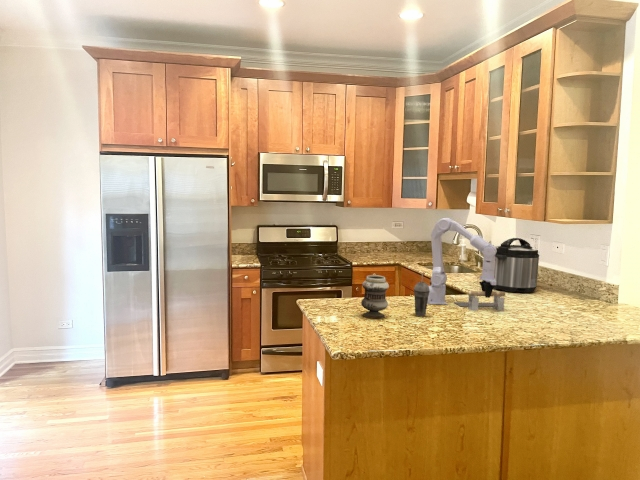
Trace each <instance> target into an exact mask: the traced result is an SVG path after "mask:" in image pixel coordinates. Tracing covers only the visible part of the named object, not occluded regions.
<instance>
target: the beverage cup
mask: <svg viewBox="0 0 640 480" xmlns="http://www.w3.org/2000/svg"><path fill="white" fill-rule="evenodd" d="M423 277H424V273H423V272H421V281H419V282H417V283H416V284H415V285H414V288H413V294H414V295H413V296H414V315H415V316H416V317H422V318H423V317H426V313H427V307H428V302H427V301H428V296H429V292H430V291H429V286H430V285H428V284H427V283H426V282H424V281H423V280H424V278H423Z"/></svg>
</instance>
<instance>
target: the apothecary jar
mask: <svg viewBox="0 0 640 480" xmlns="http://www.w3.org/2000/svg"><path fill="white" fill-rule="evenodd" d="M361 286H362V288H363V289H364V297H363V298H362V300H361V301H360V304H361V305H360V306H362V307H363V308H364V309H366V310H368V311H366V312H364V313H362V316H363V317H365V318H368V319H384V318H385V317H386V316H385V314H384V313H382V311H383V310H386V309H387V308H388V306H389V302H388V301H387V300H386V298H387V297H386V295H387V290H389V287H390V285H389V283H388V281H387V280H386V277H385V276H383V275H375V274H369V275H366V279H365V280H364V281H363V282H362V285H361ZM380 311H381V312H380Z"/></svg>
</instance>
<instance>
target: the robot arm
mask: <svg viewBox="0 0 640 480" xmlns="http://www.w3.org/2000/svg"><path fill="white" fill-rule="evenodd" d="M448 231H451V232H457V233H458V234H460V235H461V236H463V237H464V238H465V239H467V240H468V241H469V244H470V245H471V246H472V247H473V248H475V249H476V250H478V251H479V252H480V253H481V252H482V255H483V260H482V266H481V267H482V271H481V275H479V280H480V281H478V282H479V285H480V288H481V291H485V296H484V298H488V299H490V298H491V297H492V296H491V293H492V291H494V287H495V286H496V281H495V280H496V279H495V278H494V272H495V256H494V255H495V254H496V252H497V249H496V247H495V246H496V245H494V244H491V242H488V241H486V240H485V239H484V238H483V236H482V235H478V234H473V233H471V232H470V231H469V230H467V229H466V228H465V227H464V226H463V225H461V224H460V223H458V221H455V220H453V219H452V218H451V217H443V218H440V219H439V220H438V221H436V222H435V225H434V227H433V229H432V230H431V233H430V238H431V239H430V240H431V252H432V253H431V255H432V257H431V258H432V270H431V271H432V272H431V277H430V282H431V284H430V285H428V286H429V291H430V292H429V296H428V301H427V304H429V305H448V302H446V288H447V287H446V282H447V280H448V277H447V274H446V269H445V267H444V259H443V256H444V255H443V244H442V243H443V242H442V236H444V235H445V234H446V232H448Z"/></svg>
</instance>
